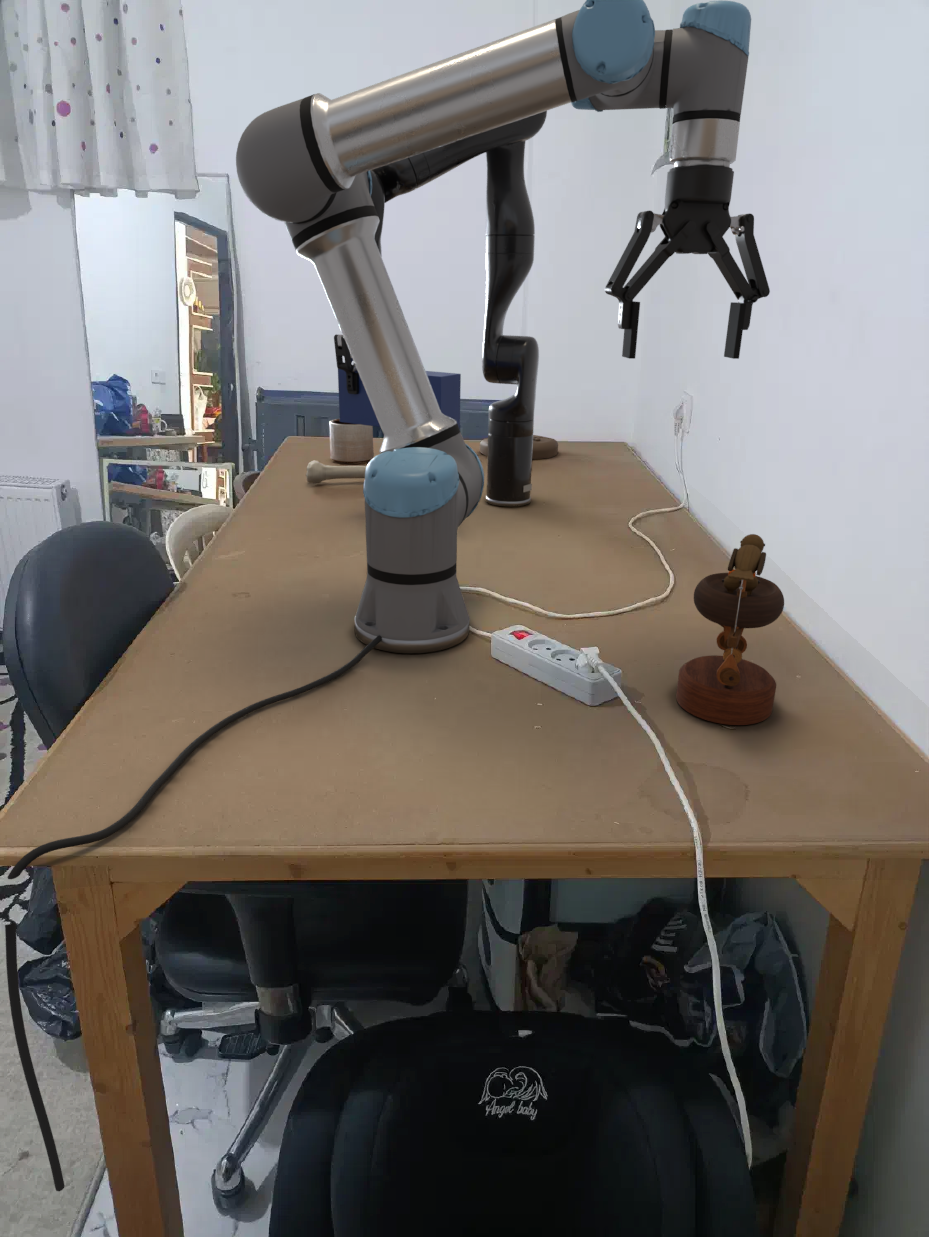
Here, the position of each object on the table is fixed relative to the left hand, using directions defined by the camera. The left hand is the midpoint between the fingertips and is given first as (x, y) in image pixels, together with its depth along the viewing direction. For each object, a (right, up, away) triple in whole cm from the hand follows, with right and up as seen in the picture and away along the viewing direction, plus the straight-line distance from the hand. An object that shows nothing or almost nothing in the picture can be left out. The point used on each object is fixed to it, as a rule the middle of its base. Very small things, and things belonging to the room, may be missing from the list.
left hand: (680, 358), depth 106 cm
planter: (-56, +7, +108) cm, 122 cm away
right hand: (-46, +9, +51) cm, 69 cm away
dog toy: (-53, -2, +85) cm, 100 cm away
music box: (+2, -42, -10) cm, 43 cm away
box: (-39, +3, +49) cm, 63 cm away
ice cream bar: (-12, +9, +114) cm, 115 cm away
